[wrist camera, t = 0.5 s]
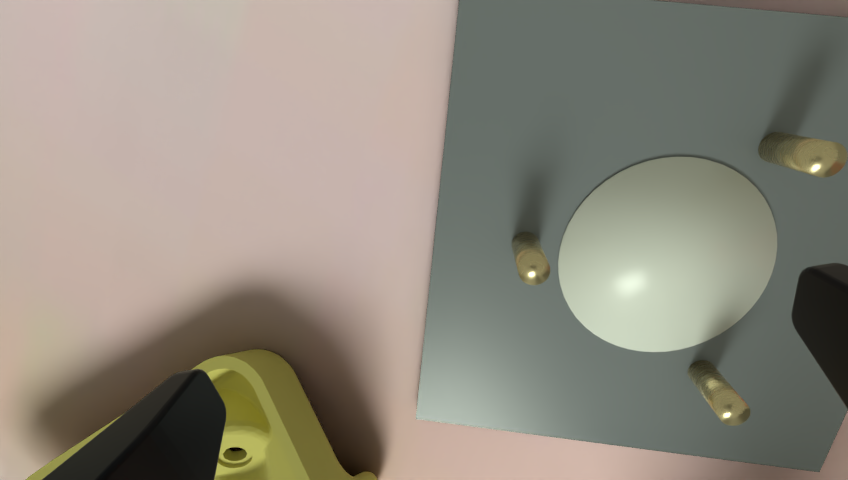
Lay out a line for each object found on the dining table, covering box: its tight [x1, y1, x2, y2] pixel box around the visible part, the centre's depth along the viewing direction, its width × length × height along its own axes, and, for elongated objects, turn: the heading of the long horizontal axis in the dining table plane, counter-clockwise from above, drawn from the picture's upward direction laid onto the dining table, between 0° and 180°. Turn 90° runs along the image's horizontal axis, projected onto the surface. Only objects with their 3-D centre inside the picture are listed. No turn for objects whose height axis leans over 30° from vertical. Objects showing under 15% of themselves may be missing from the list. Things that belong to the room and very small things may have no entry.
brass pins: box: [512, 132, 847, 426], centre depth 20 cm, size 12×10×3 cm
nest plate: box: [416, 0, 848, 472], centre depth 21 cm, size 20×20×1 cm
